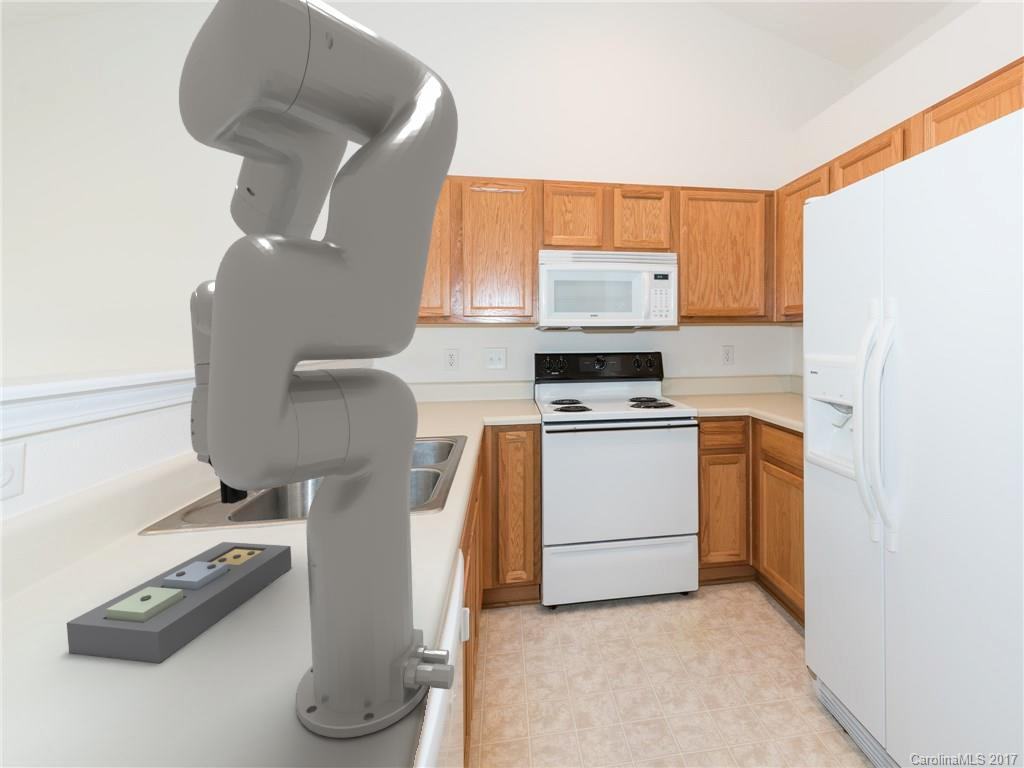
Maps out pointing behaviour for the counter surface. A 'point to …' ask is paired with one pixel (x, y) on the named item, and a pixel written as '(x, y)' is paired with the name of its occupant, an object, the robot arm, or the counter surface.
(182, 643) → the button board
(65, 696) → the counter surface
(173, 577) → the tile two
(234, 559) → the tile three
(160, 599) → the tile one
